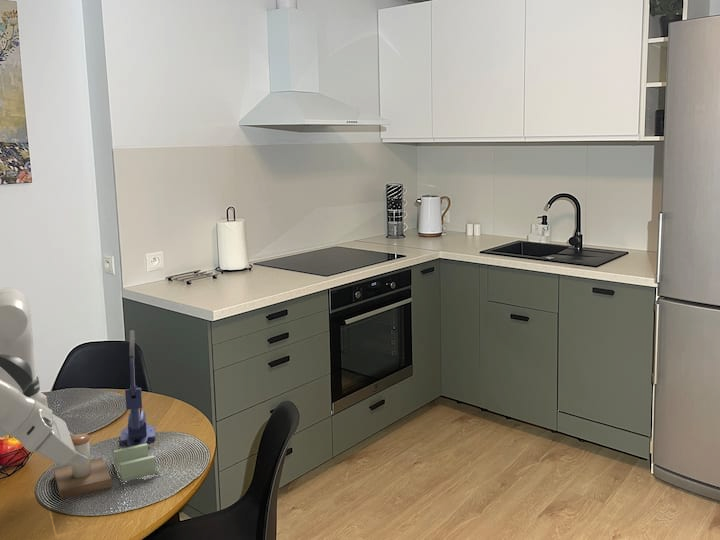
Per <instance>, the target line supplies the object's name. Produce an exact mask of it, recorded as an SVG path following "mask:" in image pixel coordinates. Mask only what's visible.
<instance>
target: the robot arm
mask: <svg viewBox="0 0 720 540" xmlns="http://www.w3.org/2000/svg"><path fill="white" fill-rule="evenodd" d="M32 325H33V324H32V315H31V310H30V305H29V301H28V299H27V296H26V295H25V294H24V293H23V292H21V290H18V289H16V288H13V287H0V437H3V436H6V435H11V436H12V437H14V438H15V439H14V440H16V441H18V442H19V443H20V444H21V445H22V446H23V448H24V449H25V450H27V452H30V453H34V452H36V453H37V454H39V455H40V456H42V457H44V458H45V459H48V460H50V461H52V462H54V463H55V464H57V465H60V466H67V465H70V464H71V461H72V462H77V463H79V464H81V465H85V464H86V463H87V462H88V458H87V456H85V455H84V454H80V453H78V452H77V451H76V450H75V447H74V444H73V442H72V439H71V436H73V435H74V434H73V433H72V432H70V431H69V429H68V425H67V423H66V422H65V421H64V419H63V418H61V417H59V416H57V415H55V414H54V413H53V410H52V409H51V408H49V406H48V399H47V395H45V394H44V393H42V392H41V391H40V385H41V384H40V380H39V377H38V376H37V368H36V357H35V355H36V354H35V347H34V345H35V344H34V338H33V337H34V336H33V327H32Z"/></svg>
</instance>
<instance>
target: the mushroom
mask: <svg viewBox="0 0 720 540" xmlns="http://www.w3.org/2000/svg"><path fill="white" fill-rule="evenodd" d="M71 439H72V442H73V444H74V447H75V450H76V451H77V452H78V453H80V454H84V455H85V456H87V458H88V462H87V463H86V464H85V465H81V464H79V463H77V462H72V461H71V462H70V464H71V465H72V475H73V477H75V478H82V477H86V476H88V475H90V474H91V473H92V469H91V460H92V457H91V448H90V435H89V434H87V433H76V434H73V436H71Z"/></svg>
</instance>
